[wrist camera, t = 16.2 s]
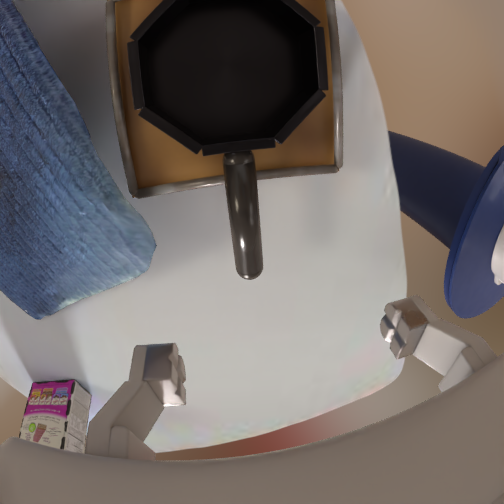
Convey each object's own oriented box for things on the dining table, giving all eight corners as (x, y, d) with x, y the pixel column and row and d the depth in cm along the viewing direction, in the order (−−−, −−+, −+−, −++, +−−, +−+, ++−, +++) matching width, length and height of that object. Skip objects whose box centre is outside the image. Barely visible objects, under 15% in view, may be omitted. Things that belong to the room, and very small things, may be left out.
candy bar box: (50, 397, 34) (35, 477, 20) (32, 381, 31) (11, 464, 17) (94, 395, 34) (83, 489, 20) (75, 378, 31) (57, 478, 17)
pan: (300, -4, 11) (318, -19, 9) (311, 250, 21) (325, 273, 19) (136, 9, 10) (124, -6, 8) (179, 271, 20) (177, 297, 18)
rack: (308, -1, 14) (334, -21, 10) (318, 158, 22) (345, 174, 17) (122, 14, 13) (102, -5, 9) (143, 181, 20) (129, 203, 16)
